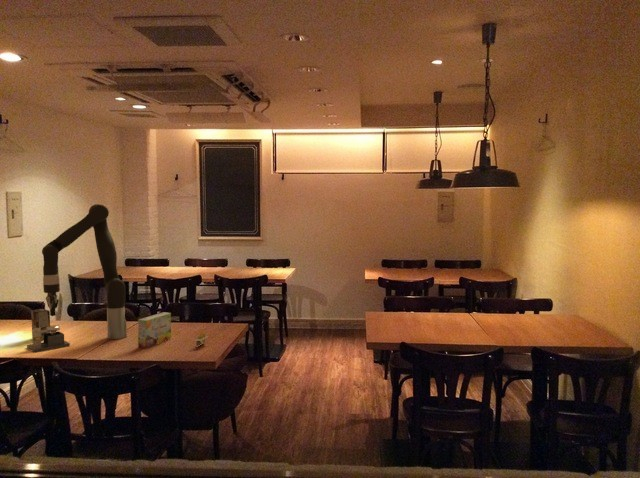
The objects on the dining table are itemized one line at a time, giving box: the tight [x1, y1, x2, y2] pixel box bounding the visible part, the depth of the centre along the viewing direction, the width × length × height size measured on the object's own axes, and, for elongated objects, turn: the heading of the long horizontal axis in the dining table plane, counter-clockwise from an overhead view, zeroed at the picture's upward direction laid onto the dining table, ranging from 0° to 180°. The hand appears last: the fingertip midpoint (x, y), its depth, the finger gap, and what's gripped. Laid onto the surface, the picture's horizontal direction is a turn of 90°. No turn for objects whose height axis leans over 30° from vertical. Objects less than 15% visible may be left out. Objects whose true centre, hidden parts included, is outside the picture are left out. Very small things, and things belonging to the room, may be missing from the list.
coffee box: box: [30, 308, 51, 342], centre depth 285 cm, size 9×6×16 cm
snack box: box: [137, 311, 172, 349], centre depth 278 cm, size 21×6×15 cm, turn 160°
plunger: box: [35, 325, 60, 335], centre depth 269 cm, size 12×6×4 cm, turn 135°
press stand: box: [26, 328, 71, 353], centre depth 270 cm, size 17×12×10 cm
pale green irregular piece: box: [193, 332, 209, 346], centre depth 273 cm, size 12×18×7 cm, turn 167°
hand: (52, 315), depth 271 cm, fingers closed
